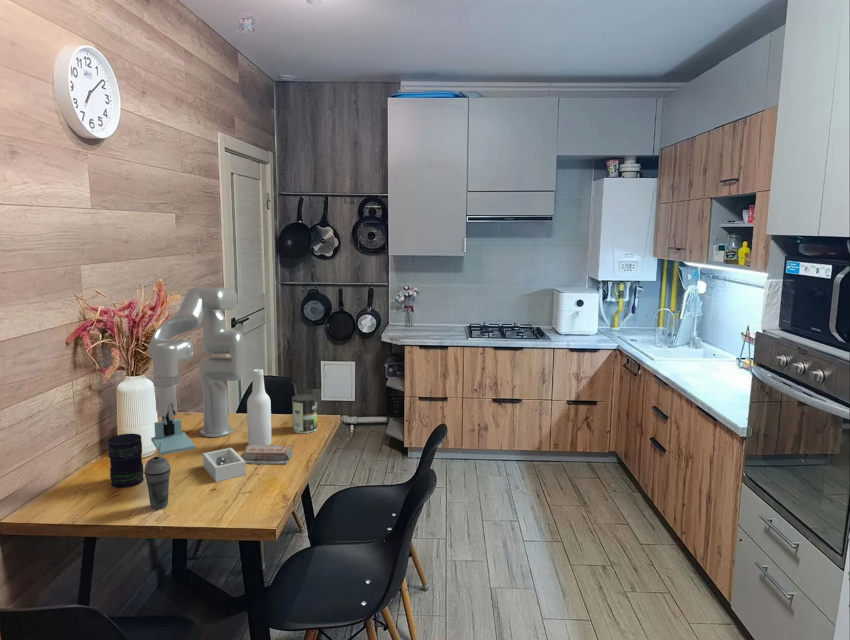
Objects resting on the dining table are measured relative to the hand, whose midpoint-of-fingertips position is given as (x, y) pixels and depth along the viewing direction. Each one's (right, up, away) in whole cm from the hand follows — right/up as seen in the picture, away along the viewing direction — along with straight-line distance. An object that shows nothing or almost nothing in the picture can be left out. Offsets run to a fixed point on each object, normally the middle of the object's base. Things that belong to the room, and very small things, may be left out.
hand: (168, 433), depth 195 cm
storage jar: (-12, -15, -3) cm, 20 cm away
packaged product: (+28, -13, +18) cm, 36 cm away
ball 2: (+15, -12, +5) cm, 20 cm away
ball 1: (+14, -11, +9) cm, 21 cm away
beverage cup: (+6, -18, -20) cm, 28 cm away
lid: (+4, -3, -5) cm, 7 cm away
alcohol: (+22, -11, +32) cm, 40 cm away
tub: (+17, -14, +7) cm, 23 cm away
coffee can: (+36, -8, +50) cm, 62 cm away
